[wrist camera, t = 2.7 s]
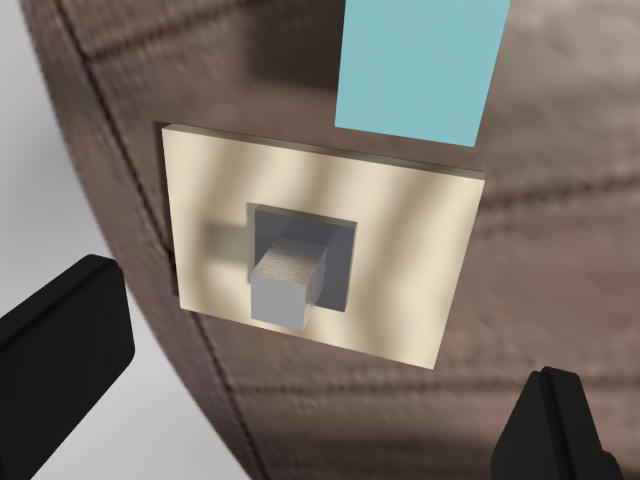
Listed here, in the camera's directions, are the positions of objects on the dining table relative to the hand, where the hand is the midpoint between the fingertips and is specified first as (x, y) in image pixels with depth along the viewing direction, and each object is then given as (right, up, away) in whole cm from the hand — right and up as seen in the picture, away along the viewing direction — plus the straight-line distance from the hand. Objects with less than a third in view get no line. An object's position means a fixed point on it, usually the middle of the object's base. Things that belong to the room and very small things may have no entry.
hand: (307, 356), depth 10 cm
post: (0, +2, +25) cm, 25 cm away
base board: (0, +2, +25) cm, 25 cm away
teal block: (+6, +14, +16) cm, 22 cm away
